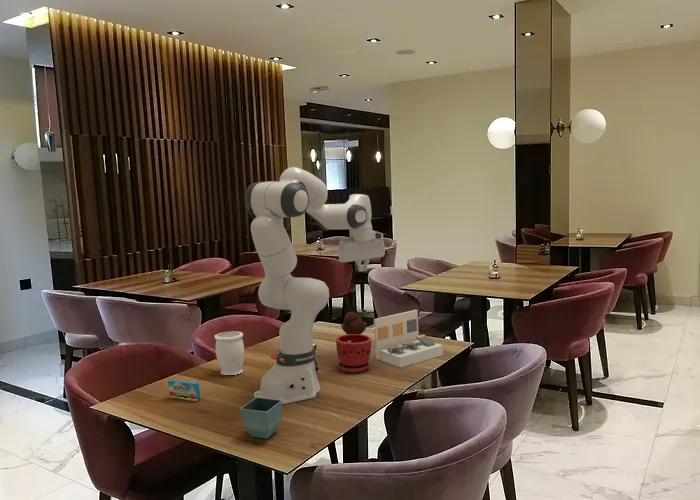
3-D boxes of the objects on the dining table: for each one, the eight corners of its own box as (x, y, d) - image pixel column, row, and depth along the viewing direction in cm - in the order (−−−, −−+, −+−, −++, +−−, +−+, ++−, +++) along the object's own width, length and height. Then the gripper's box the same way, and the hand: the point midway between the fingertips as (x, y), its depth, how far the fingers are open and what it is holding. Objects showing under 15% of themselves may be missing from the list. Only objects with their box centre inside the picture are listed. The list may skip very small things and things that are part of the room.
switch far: (427, 346, 219) (427, 344, 219) (415, 338, 224) (416, 336, 224) (434, 344, 221) (435, 342, 221) (423, 336, 226) (423, 334, 226)
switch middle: (413, 346, 214) (413, 344, 214) (402, 346, 220) (401, 343, 220) (421, 344, 217) (420, 342, 217) (409, 344, 222) (409, 341, 222)
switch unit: (400, 367, 208) (398, 325, 206) (375, 358, 220) (373, 319, 218) (442, 355, 220) (441, 315, 218) (417, 347, 232) (415, 309, 231)
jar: (212, 376, 209) (209, 337, 207) (226, 367, 218) (223, 330, 217) (237, 378, 205) (234, 338, 204) (250, 369, 215) (247, 331, 213)
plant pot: (351, 377, 200) (349, 344, 199) (330, 368, 211) (329, 338, 209) (379, 368, 208) (378, 337, 206) (358, 361, 218) (356, 331, 217)
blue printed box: (169, 398, 189) (167, 380, 189) (172, 396, 191) (171, 379, 190) (197, 402, 184) (195, 384, 183) (200, 400, 186) (198, 382, 185)
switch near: (398, 350, 210) (398, 348, 210) (387, 350, 216) (386, 348, 216) (406, 348, 212) (406, 345, 212) (395, 348, 218) (394, 346, 218)
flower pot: (269, 443, 151) (267, 411, 150) (241, 439, 155) (239, 408, 153) (284, 429, 159) (282, 399, 158) (258, 426, 163) (255, 396, 162)
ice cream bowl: (368, 348, 235) (366, 313, 233) (341, 349, 235) (339, 314, 233) (367, 341, 245) (366, 308, 243) (342, 342, 245) (340, 309, 244)
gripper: (343, 238, 207) (345, 275, 209) (386, 233, 219) (388, 268, 220) (334, 237, 212) (336, 273, 214) (376, 232, 224) (378, 266, 226)
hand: (362, 270), depth 217 cm, fingers closed
